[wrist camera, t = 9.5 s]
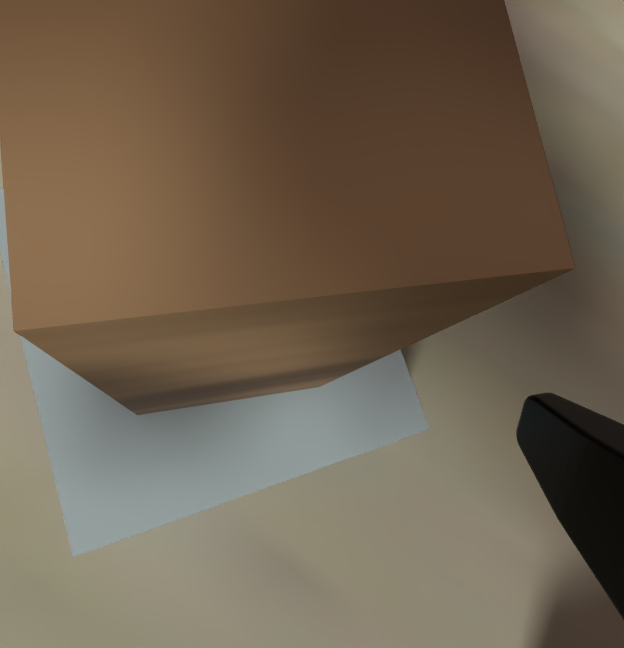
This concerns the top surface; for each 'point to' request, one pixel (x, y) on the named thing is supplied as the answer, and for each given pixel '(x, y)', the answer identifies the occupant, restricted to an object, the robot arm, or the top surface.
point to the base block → (201, 441)
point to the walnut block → (263, 186)
